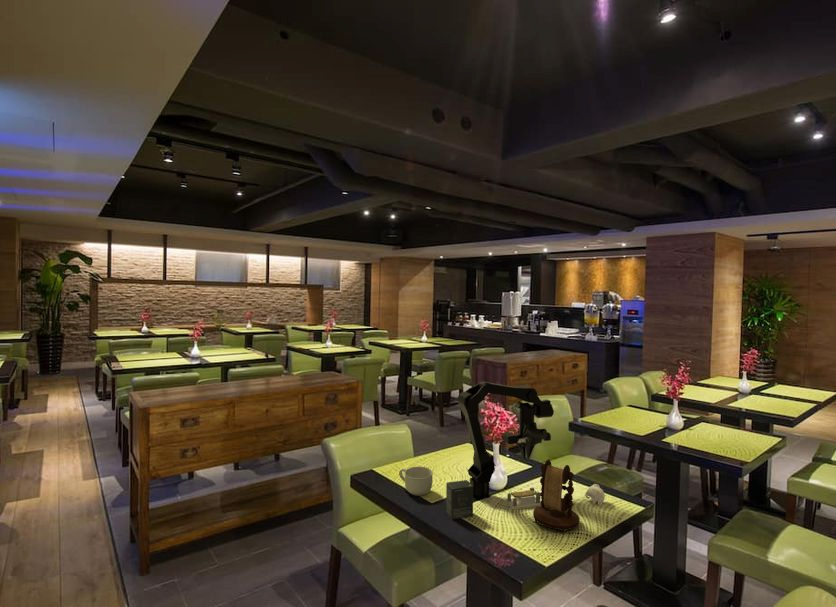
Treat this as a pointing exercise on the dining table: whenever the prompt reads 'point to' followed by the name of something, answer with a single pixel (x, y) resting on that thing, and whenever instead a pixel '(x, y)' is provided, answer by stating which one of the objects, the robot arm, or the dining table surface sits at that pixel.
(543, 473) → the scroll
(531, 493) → the strap
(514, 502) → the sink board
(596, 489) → the elephant figurine
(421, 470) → the teacup
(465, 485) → the box
